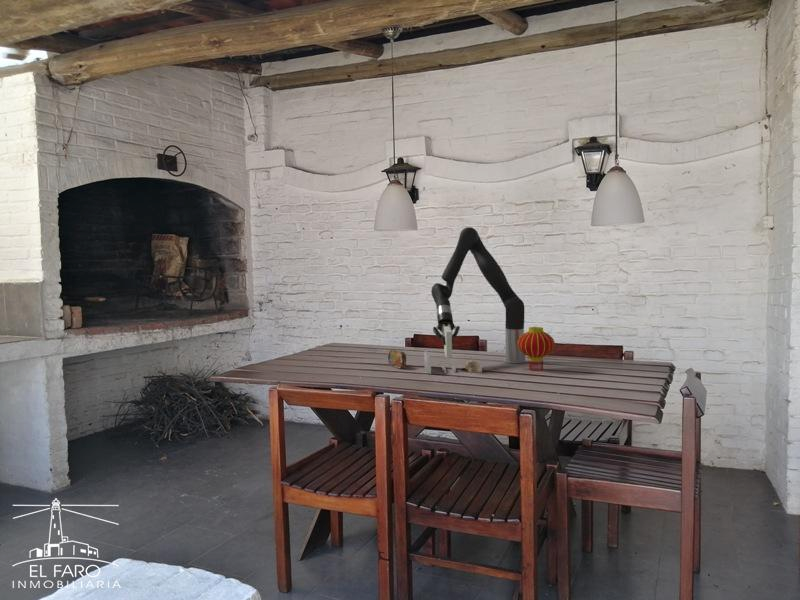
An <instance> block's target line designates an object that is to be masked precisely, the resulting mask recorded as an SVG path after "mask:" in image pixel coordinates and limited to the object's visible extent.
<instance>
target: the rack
mask: <svg viewBox="0 0 800 600" xmlns="http://www.w3.org/2000/svg"><path fill="white" fill-rule="evenodd" d="M423 352H424V353H423V354H424V360H423V361H424V362H423V363H424V370H425V369H426V370H425V371H427V372H426V374H427V373H428V374H427V375H432V358H431V355H430V353H429V351H426V350H425V351H423ZM440 366H441V367H440V368H442V369H441V370H442V372H443V371H444V372H446V373H447V368H446V367H445V365H444V364H441V365H440ZM451 368H452V369H451ZM450 369H451V370H452V372H453V371H454V372H453V373H457V368H456V367H455V366H454V364H450ZM444 372H443V373H444Z"/></svg>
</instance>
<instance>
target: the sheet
mask: <svg viewBox="0 0 800 600" xmlns="http://www.w3.org/2000/svg"><path fill="white" fill-rule="evenodd" d="M444 332H445V341H446V345H444V344H443V348H444V349H443V351H444V354H445V358H446V359H453V344H452V334H453V330H452V331H451V329H450V327H449V326H445V327H444Z"/></svg>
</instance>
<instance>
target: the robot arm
mask: <svg viewBox="0 0 800 600" xmlns="http://www.w3.org/2000/svg"><path fill="white" fill-rule="evenodd" d="M456 244H457V245H456V247H455V248H454V252H453V254H452V256H451V257H450V259H449V261H448V263H447V265H446V266H445V268H444V271H443V273H442V275H441V279H442V280H443V281H444V282H445V283H446V285H444V284H442V283H440V282H439V283H438V282H436V283H434V284H433V286H432V287H431V296H432V298H433V301H434V303H435V306H436V319H437V325H436V326H433V328H432V332H433V333H434V335H436V337H437V338H438V339H441V340H442V345H443V346H444V345H446V341H445V332H444V327H445V326H449V327H450V329H451V331H452V332H453V331H454V332H453V333H452V345H453V343H454V339H455V338H457V336H458V334H459V332H460V326H459V325H457V326H456V325H455V323H454V320H453V311H452V307H451V302H450V298H451V296H452V294H453V291H454V290H453V289H454V284H455V281H456V279H457V276H458V274H459V273H460V270H461V268H462V266H463V263H464V262H465V259H466V256H467V255H468V253H469V251H470V253H471V254H472V255H473V257H474V259H475V262H476V264H477V266H478V269H479V270H480V272H481V274H482V275H483V276H484V278H485V280H486V281H487V283H488V284H489V285H490V287H491V288H492V289H493V290H494V291H495V292H496V293H497V295H498V296H499V298H500V300H501V302H502V304H503V306H504V309H505V363H508V364H523V363H526V355H524V354H523V353H522V352H521V351H520V350H519V348H518V345H517V342H518V339H519V338H520V336H521V335H523V334H524V333H525V304H524V301H523V300H522V299H521V298H520V297H519V296H518V294H517V293H516V292H515V291H514V290H513V288H512V287H511V285H510V284H509V282H508V279H507V277H506V275H505V274H504V271H503V270H502V268H501V266H500V265H499V264H498V263H499V262H497V261H496V259H495V258H494V256H493V255H492V254H491V253H490V251H488V249H487V248H486V246H485V245H484V243H483V241H482V238H481V237H480V235H479V233H478V231H477V230H476V228H473V227H469V226H467V227H465V228H463V229H462V230H461V231H460V232H459V238H458V241H457V243H456Z"/></svg>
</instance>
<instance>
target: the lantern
mask: <svg viewBox="0 0 800 600" xmlns="http://www.w3.org/2000/svg"><path fill="white" fill-rule="evenodd" d="M517 345H518V348H519V350H520V351H521V352H522V353H523V354H524V355H525V357H528V359H529V361H528V366H529V367H528V370H529V371H532V370H534V371H535V372H539V371H540V372H541V371H543V370H544V364H543V363H544V360H543V359H544V357H547V356H548V355H549V354H552V352H553V351H554V349H555V347H556V346H555V345H556V342H555V340H554V338H553V336H552V335H550V334H549V333H547V332H545V331H544V327H539V326H532V327H531V326H530V327H528V331H527V332H524V334H523V335H521V336H520V338H519V339H518V342H517Z"/></svg>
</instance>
